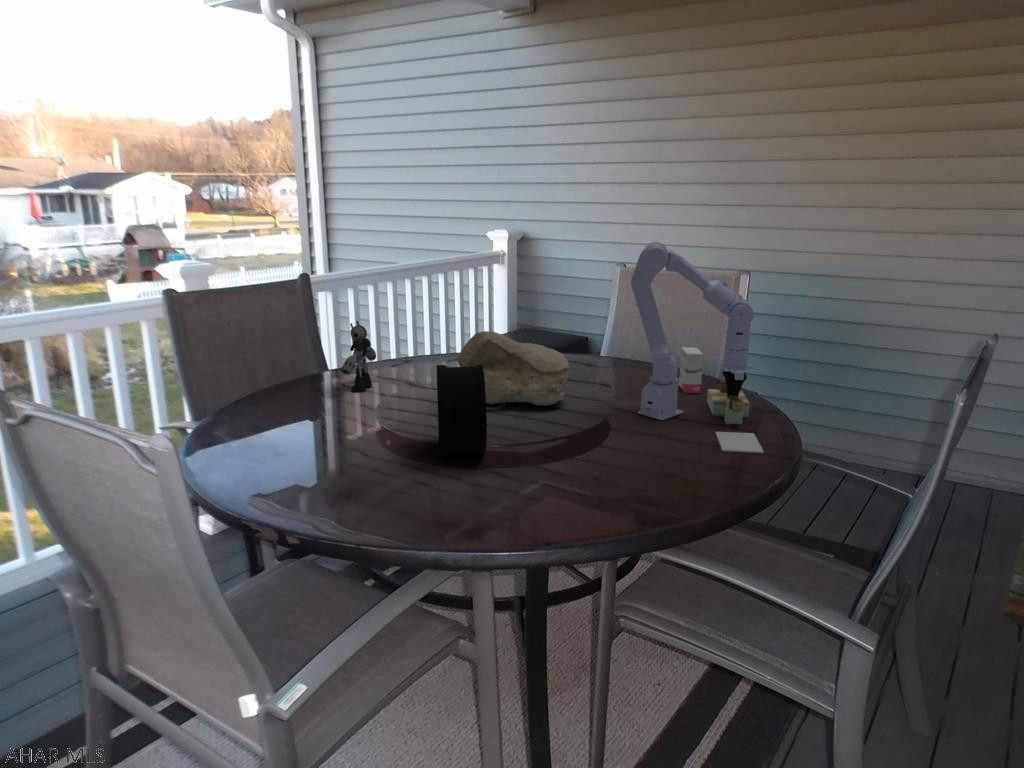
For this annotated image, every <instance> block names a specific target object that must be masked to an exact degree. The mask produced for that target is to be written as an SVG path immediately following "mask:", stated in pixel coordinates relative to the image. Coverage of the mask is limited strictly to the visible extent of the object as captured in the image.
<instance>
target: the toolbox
mask: <svg viewBox="0 0 1024 768" xmlns="http://www.w3.org/2000/svg"><path fill="white" fill-rule="evenodd" d="M706 397H707V400H706V404H707V406H708V408H709V410H710V413H711V415H712V417H722V418H724V420H723V421H724V423H725V425H726V424H727V425H742V424H743V420H744V419H743V418H749V416H750V407H745V406H744V401H743V399H740V402H741V403H742V408H741V412H733V411H732V409H731V407H730V399H729V398H726V406H720V405H713V403H712V400H711V398H710V396H709V393H708V392H707V396H706Z"/></svg>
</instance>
